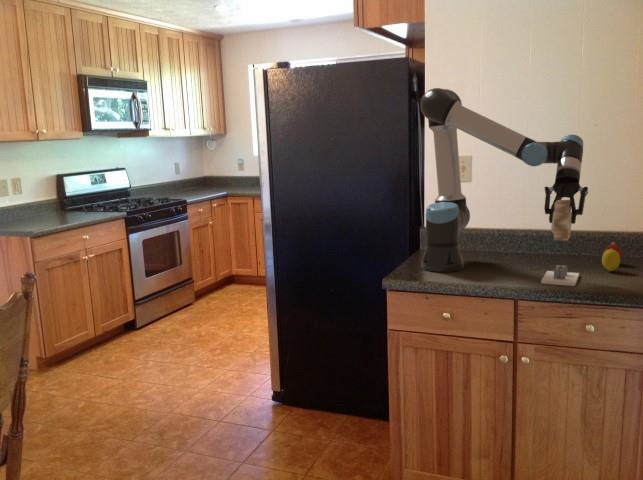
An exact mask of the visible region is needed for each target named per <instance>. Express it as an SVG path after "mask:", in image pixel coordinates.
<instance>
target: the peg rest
mask: <svg viewBox="0 0 643 480" xmlns="http://www.w3.org/2000/svg"><path fill="white" fill-rule="evenodd" d="M579 277H580V272H568V266H567V265H560V264H557V265H556V267H555V268H554V269H553V270H546V272H545V273H544V275H543V277H542V278H541V281H540V283H541V284H544V285H545V284H546V285H555V286H556V285H557V286H569V287H571V286H572V287H575V286H576V285H577V282H578V279H579Z"/></svg>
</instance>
